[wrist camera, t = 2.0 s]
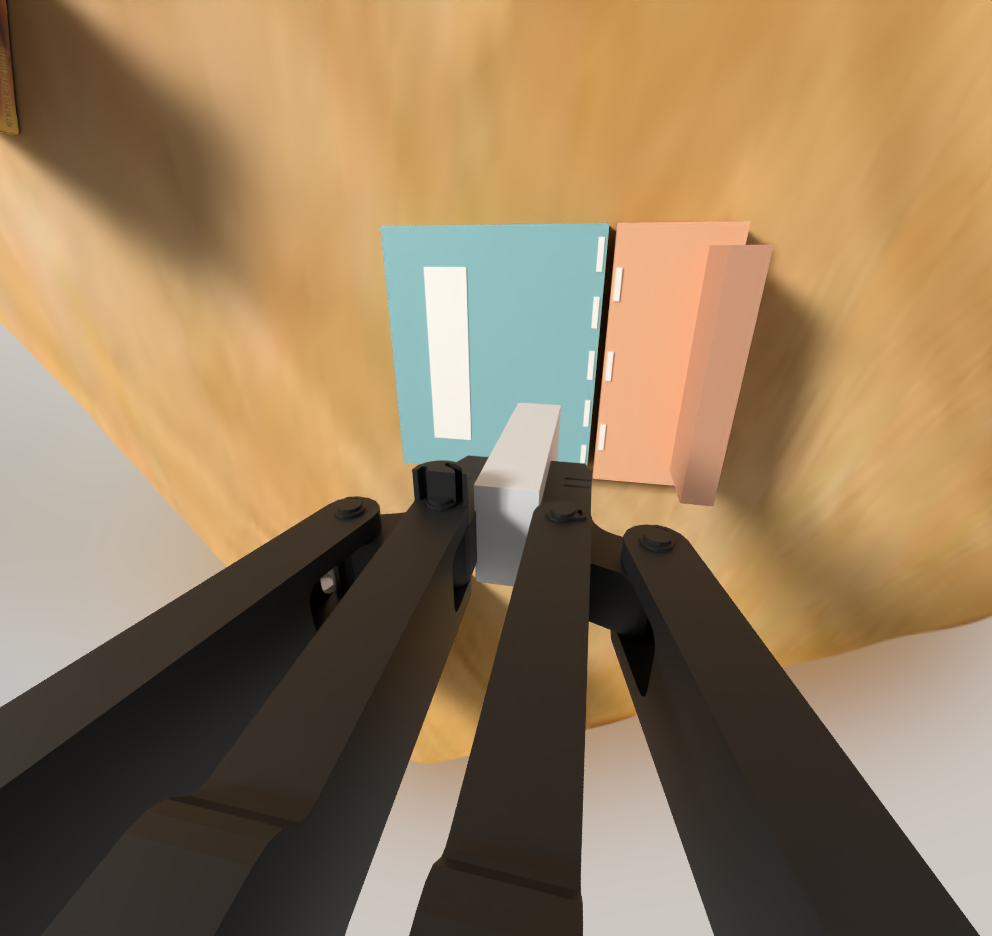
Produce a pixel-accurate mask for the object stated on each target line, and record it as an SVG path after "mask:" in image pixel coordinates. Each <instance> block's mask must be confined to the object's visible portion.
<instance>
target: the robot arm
mask: <svg viewBox="0 0 992 936" xmlns="http://www.w3.org/2000/svg"><path fill="white" fill-rule="evenodd" d="M560 412H561V405H550V404H533V403H518V404H517V406H516V408H515V410H514V412H513V414H512V415H511V417H510V419H509V421H508V423H507V425H506V427H505V428H504V430H503V432H502V434H501V436H500V438H499V439H498V441H497V443H496V445H495V447H494V449H493V450H492V452H491V454H490V456H489V457H482V456H470V455H468V456H466V457H464V458H463V459H461V460H459V461H457V462H454V461H448V460H437V461H430V462H426V463H423V464H420V465H418V466H416V467H415V468H414V469H412V473H413V485H414V497H415V501H414V502H413V504H412V505H411V506H410V508H409V509H408V510H407V512H404V513H396V514H382V515H380V507H379V505H378V503H377V502H376V501H374V500H372V499H370V498H364V497H355V496H354V497H347V498H345V499H341V500H337V501H335V502H333V503H331V504H329V505H327V506H325V507H324V508H322V509H320V510H319V511H317V512H316V513H314V514H312V515H311V516H309V517H308V518H306V519H304V520H303V521H301V522H299V523H298V524H296V525H295V526H293V527H291V528H290V529H288V530H287V531H285V532H283V533H282V534H280V535H278V536H277V537H275V538H274V539H272V540H270V541H269V542H267V543H266V544H264V545H262V546H261V547H259V548H257V549H256V550H254V551H253V552H251V553H249V554H248V555H246V556H244V557H243V558H241V559H240V560H238V561H236V562H235V563H233V564H232V565H230V566H228V567H227V568H225V569H224V570H222V571H220V572H219V573H217V574H215V575H214V576H212V577H211V578H209V579H207V580H206V581H204V582H202V583H201V584H199V585H198V586H196V587H194V588H193V589H191V590H189V591H188V592H186V593H185V594H183V595H182V596H180V597H178V598H177V599H175V600H173V601H172V602H170V603H168V604H167V605H165V606H164V607H162V608H160V609H159V610H157V611H156V612H154V613H152V614H151V615H149V616H147V617H146V618H144V619H143V620H141V621H139V622H138V623H136V624H135V625H133V626H131V627H130V628H128V629H126V630H125V631H123V632H122V633H120V634H118V635H117V636H115V637H113V638H112V639H110V640H109V641H107V642H106V643H104V644H102V645H101V646H99V647H97V648H96V649H94V650H93V651H91V652H89V653H88V654H86V655H85V656H83V657H81V658H80V659H78V660H76V661H75V662H73V663H72V664H70V665H68V666H67V667H65V668H63V669H62V670H60V671H58V672H57V673H55V674H54V675H52V676H50V677H49V678H47V679H46V680H44V681H42V682H41V683H39V684H38V685H36V686H34V687H33V688H31V689H29V690H28V691H26V692H25V693H23V694H22V695H20V696H18V697H16V698H15V699H13V700H12V701H10V702H8V703H7V704H5V705H3V706H2V707H0V936H345V933H346V930H347V927H348V924H349V921H350V919H351V916H352V913H353V910H354V908H355V905H356V902H357V900H358V897H359V894H360V892H361V889H362V886H363V884H364V881H365V878H366V875H367V873H368V870H369V867H370V865H371V862H372V859H373V857H374V854H375V851H376V849H377V846H378V843H379V841H380V838H381V835H382V832H383V830H384V827H385V824H386V821H387V819H388V816H389V814H390V811H391V808H392V806H393V803H394V800H395V797H396V795H397V792H398V789H399V787H400V784H401V781H402V779H403V776H404V773H405V771H406V768H407V765H408V762H409V760H410V757H411V754H412V752H413V749H414V746H415V744H416V741H417V738H418V736H419V733H420V730H421V728H422V725H423V722H424V719H425V717H426V714H427V711H428V709H429V706H430V703H431V701H432V698H433V695H434V693H435V690H436V687H437V684H438V682H439V679H440V676H441V674H442V671H443V668H444V666H445V663H446V660H447V658H448V655H449V652H450V649H451V647H452V644H453V641H454V639H455V636H456V633H457V631H458V628H459V625H460V623H461V620H462V617H463V615H464V612H465V609H466V606H467V604H468V601H469V598H470V596H471V575H472V573H473V570H474V568H475V565H476V582H484V583H492V584H499V585H507V586H514V588H513V591H512V595H511V599H510V603H509V607H508V611H507V615H506V618H505V622H504V626H503V630H502V634H501V638H500V641H499V645H498V649H497V653H496V657H495V661H494V664H493V668H492V672H491V676H490V680H489V684H488V688H487V691H486V695H485V699H484V703H483V707H482V711H481V714H480V718H479V722H478V726H477V730H476V734H475V737H474V741H473V745H472V749H471V753H470V757H469V761H468V764H467V768H466V772H465V776H464V780H463V784H462V788H461V791H460V795H459V799H458V803H457V807H456V810H455V814H454V818H453V822H452V826H451V830H450V834H449V837H448V840H447V844H446V847H445V849H444V852H443V854H442V857H441V858H440V859H438V861H436V862H435V863H434V864H433V866H432V868H431V870H430V873H429V875H428V877H427V879H426V881H425V885H424V888H423V891H422V894H421V897H420V900H419V904H418V907H417V910H416V913H415V917H414V921H413V924H412V928H411V931H410V935H409V936H583V903H582V896H581V848H582V847H581V846H582V816H583V815H582V814H583V784H584V783H583V781H584V752H585V751H584V750H585V721H586V689H587V657H588V626H589V621H590V622H592V623H595V624H597V625H600V626H602V627H605V628H607V629H610V630H611V631H610V632H611V640H612V643H613V646H614V649H615V652H616V655H617V658H618V661H619V663H620V666H621V669H622V672H623V675H624V678H625V681H626V684H627V686H628V689H629V692H630V695H631V698H632V701H633V704H634V707H635V709H636V712H637V715H638V718H639V721H640V724H641V727H642V729H643V732H644V735H645V738H646V741H647V744H648V747H649V749H650V752H651V755H652V758H653V761H654V764H655V767H656V770H657V773H658V775H659V778H660V781H661V784H662V787H663V790H664V793H665V796H666V798H667V801H668V804H669V807H670V810H671V813H672V816H673V819H674V821H675V824H676V827H677V830H678V833H679V836H680V839H681V841H682V844H683V847H684V850H685V853H686V856H687V859H688V862H689V864H690V867H691V870H692V873H693V876H694V879H695V882H696V884H697V887H698V890H699V893H700V896H701V899H702V902H703V904H704V907H705V910H706V913H707V916H708V919H709V922H710V925H711V928H712V930H713V933H714V936H980V935H979V934H978V933H977V931H976V930H975V928H974V927H973V926H972V924H971V923H970V922H969V920H968V919H967V918H966V916H965V915H964V914H963V912H962V911H961V910H960V908H959V907H958V905H957V904H956V903H955V901H954V900H953V899H952V897H951V896H950V895H949V893H948V892H947V891H946V889H945V888H944V886H943V885H942V884H941V882H940V881H939V880H938V879H937V877H936V876H935V874H934V873H933V872H932V870H931V869H930V868H929V866H928V865H927V864H926V862H925V861H924V859H923V858H922V857H921V855H920V854H919V853H918V851H917V850H916V849H915V847H914V846H913V845H912V843H911V842H910V841H909V839H908V838H907V836H906V835H905V834H904V832H903V831H902V830H901V828H900V827H899V826H898V824H897V823H896V822H895V820H894V819H893V817H892V816H891V815H890V813H889V812H888V811H887V809H886V808H885V807H884V805H883V804H882V803H881V801H880V800H879V798H878V797H877V796H876V794H875V793H874V792H873V790H872V789H871V788H870V786H869V785H868V784H867V782H866V781H865V780H864V778H863V777H862V776H861V774H860V773H859V771H858V770H857V769H856V767H855V766H854V765H853V763H852V762H851V761H850V759H849V758H848V756H847V755H846V754H845V752H844V751H843V750H842V748H841V747H840V746H839V744H838V743H837V742H836V740H835V739H834V737H833V736H832V735H831V733H830V732H829V731H828V729H827V728H826V727H825V725H824V724H823V723H822V721H821V720H820V719H819V717H818V716H817V714H816V713H815V712H814V710H813V709H812V708H811V707H810V705H809V704H808V702H807V701H806V700H805V698H804V697H803V696H802V694H801V693H800V692H799V690H798V689H797V687H796V686H795V685H794V684H793V682H792V681H791V679H790V678H789V677H788V675H787V674H786V672H785V671H784V670H783V668H782V667H781V666H780V664H779V663H778V662H777V660H776V659H775V658H774V656H773V655H772V654H771V652H770V651H769V649H768V648H767V647H766V645H765V644H764V643H763V641H762V640H761V639H760V637H759V636H758V635H757V633H756V632H755V630H754V629H753V628H752V626H751V625H750V624H749V622H748V621H747V620H746V618H745V617H744V616H743V614H742V613H741V612H740V610H739V609H738V607H737V606H736V605H735V603H734V602H733V601H732V599H731V598H730V597H729V595H728V594H727V593H726V591H725V590H724V588H723V587H722V586H721V584H720V583H719V582H718V580H717V579H716V578H715V576H714V575H713V574H712V572H711V571H710V570H709V568H708V567H707V565H706V564H705V563H704V561H703V560H702V559H701V557H700V556H699V555H698V553H697V552H696V551H695V549H694V548H693V546H692V545H691V544H690V542H689V541H688V540H687V539H686V538H685V537H684V536H682V535H681V534H680V533H678V532H676V531H674V530H672V529H670V528H667V527H662V526H659V525H639V526H634V527H632V528H630V529H628V530H627V531H626V533H625V534H624V536H623V537H621V536H618V535H614V534H612V533H609V532H607V531H605V530H603V529H601V528H600V527H598V526H597V525H596V524H595V523H594V522H593V520H592V517H591V485H592V471H591V470H590V469H589V468H588V466H587V465H586V464H585V463H573V462H560V461H558V444H559V428H560ZM329 571H331V575H332V580H333V585H332V586H331V587H329V588H328V589H326V590H324V591H323V589H322V585H321V580H320V579H321V578H322V577H323V576H324V575H326V574H327V573H328V572H329Z"/></svg>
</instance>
